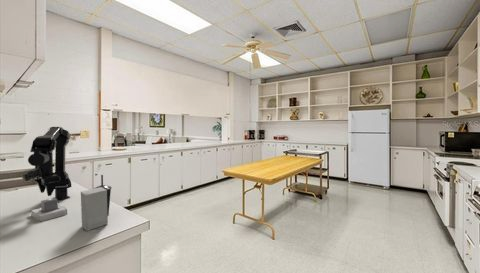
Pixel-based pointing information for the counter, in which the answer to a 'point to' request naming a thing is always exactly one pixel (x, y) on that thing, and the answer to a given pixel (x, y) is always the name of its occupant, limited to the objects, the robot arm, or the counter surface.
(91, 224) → the skincare box
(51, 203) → the plug
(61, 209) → the socket
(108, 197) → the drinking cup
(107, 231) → the counter surface
